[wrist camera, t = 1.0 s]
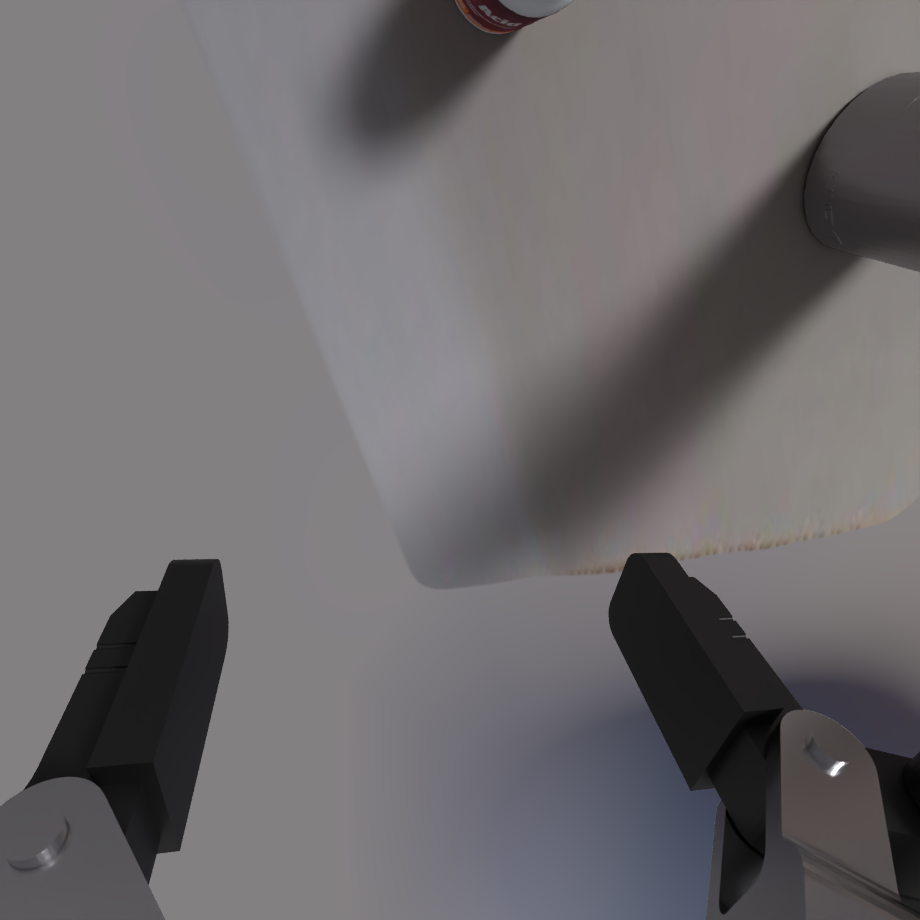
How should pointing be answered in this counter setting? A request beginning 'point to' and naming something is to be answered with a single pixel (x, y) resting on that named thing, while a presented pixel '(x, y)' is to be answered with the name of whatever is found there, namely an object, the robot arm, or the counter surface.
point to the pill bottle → (507, 13)
